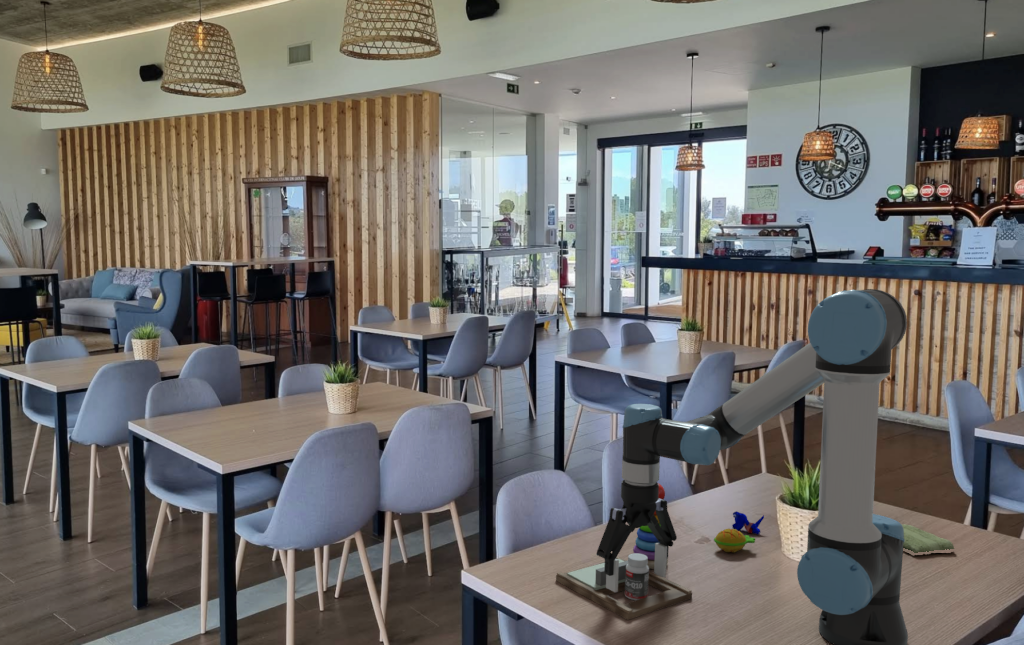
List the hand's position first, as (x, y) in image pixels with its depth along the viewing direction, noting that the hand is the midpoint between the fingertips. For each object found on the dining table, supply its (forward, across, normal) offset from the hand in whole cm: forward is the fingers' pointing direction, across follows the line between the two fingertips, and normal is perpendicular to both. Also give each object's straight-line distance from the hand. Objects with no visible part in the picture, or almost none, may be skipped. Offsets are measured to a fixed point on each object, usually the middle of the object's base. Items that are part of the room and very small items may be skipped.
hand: (636, 582), depth 167 cm
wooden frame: (+3, 0, -4) cm, 5 cm away
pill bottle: (+3, 0, 0) cm, 3 cm away
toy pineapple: (+3, -38, -6) cm, 39 cm away
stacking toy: (+3, -15, -11) cm, 19 cm away
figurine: (+3, -52, -13) cm, 54 cm away
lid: (+2, 0, -9) cm, 9 cm away
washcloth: (+4, -80, +14) cm, 81 cm away
